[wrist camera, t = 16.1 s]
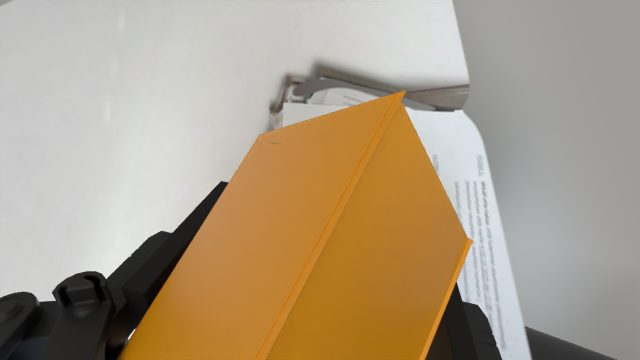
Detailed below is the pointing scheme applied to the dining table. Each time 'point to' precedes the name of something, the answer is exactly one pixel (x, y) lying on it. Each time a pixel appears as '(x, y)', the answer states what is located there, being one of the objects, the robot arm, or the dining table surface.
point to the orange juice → (316, 250)
